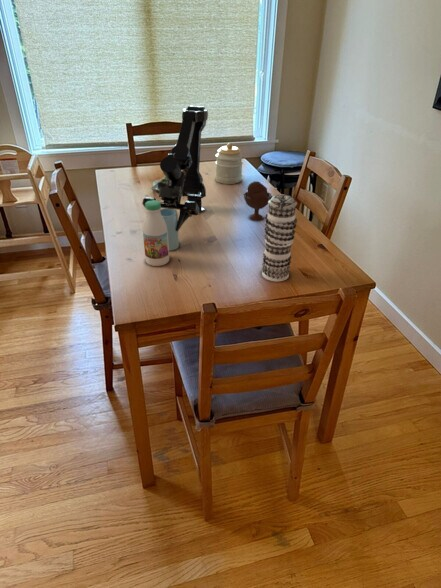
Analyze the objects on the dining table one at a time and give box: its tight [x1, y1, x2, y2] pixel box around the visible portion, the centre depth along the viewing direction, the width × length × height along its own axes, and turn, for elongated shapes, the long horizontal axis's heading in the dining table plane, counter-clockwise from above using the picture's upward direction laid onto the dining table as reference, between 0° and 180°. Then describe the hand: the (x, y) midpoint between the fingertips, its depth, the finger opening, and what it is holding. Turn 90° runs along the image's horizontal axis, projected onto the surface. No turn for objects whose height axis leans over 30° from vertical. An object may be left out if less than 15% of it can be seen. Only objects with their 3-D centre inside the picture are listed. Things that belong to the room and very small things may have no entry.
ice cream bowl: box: [243, 180, 273, 222], centre depth 158 cm, size 11×11×15 cm
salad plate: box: [150, 176, 168, 194], centre depth 190 cm, size 19×18×5 cm
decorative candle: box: [261, 193, 298, 283], centre depth 120 cm, size 9×9×25 cm
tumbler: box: [160, 208, 180, 252], centre depth 138 cm, size 7×7×12 cm
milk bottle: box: [142, 199, 170, 267], centre depth 127 cm, size 8×8×20 cm
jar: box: [215, 142, 244, 185], centre depth 195 cm, size 13×13×18 cm
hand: (166, 229), depth 137 cm, fingers closed on tumbler, 7 cm apart
